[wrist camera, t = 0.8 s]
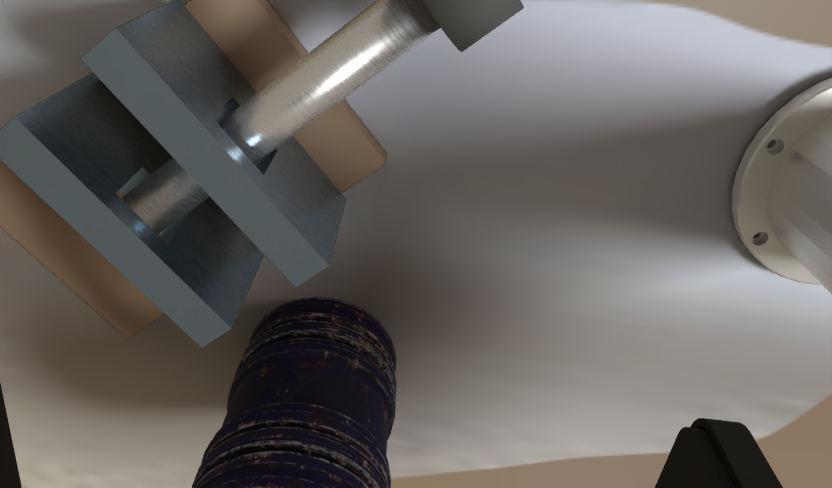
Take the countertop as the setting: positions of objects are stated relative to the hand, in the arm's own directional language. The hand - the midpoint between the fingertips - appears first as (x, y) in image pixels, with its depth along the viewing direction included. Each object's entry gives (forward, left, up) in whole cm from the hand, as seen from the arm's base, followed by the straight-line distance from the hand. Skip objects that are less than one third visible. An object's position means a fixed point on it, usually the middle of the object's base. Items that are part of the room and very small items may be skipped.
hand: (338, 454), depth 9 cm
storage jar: (+16, +13, -28) cm, 35 cm away
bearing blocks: (+11, -2, -27) cm, 29 cm away
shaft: (+5, -2, -24) cm, 25 cm away
